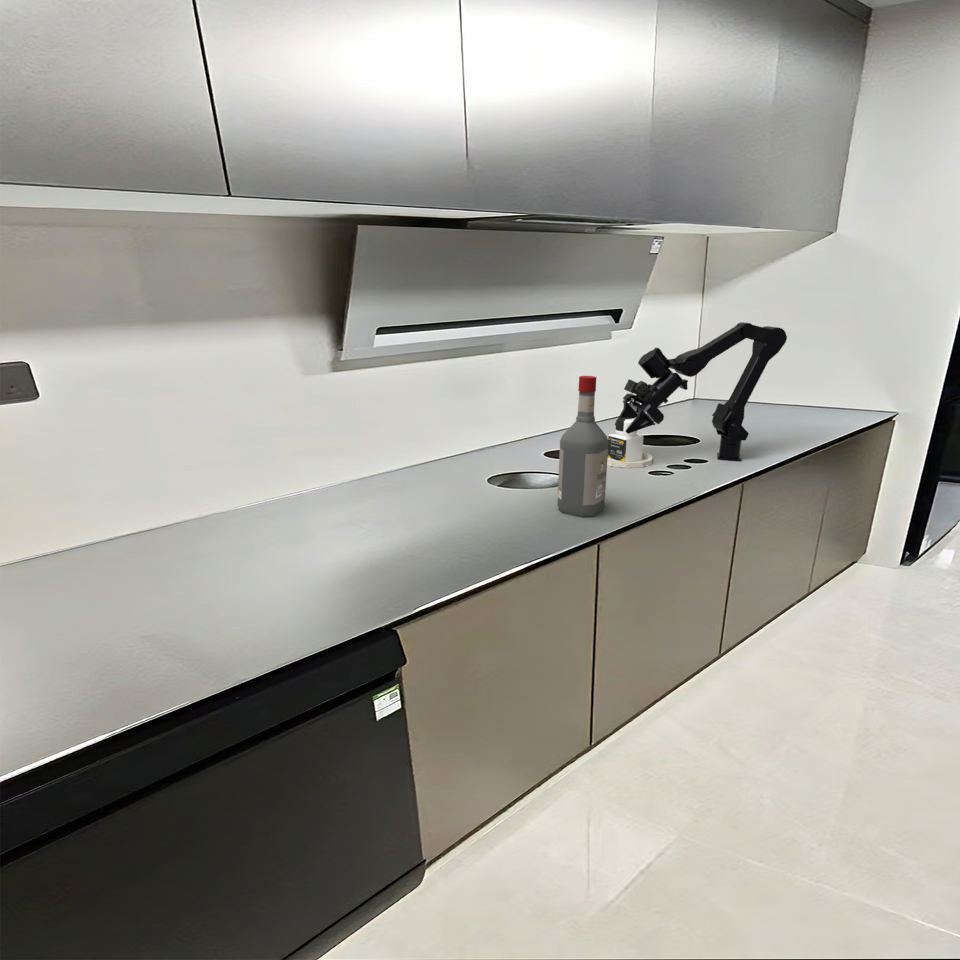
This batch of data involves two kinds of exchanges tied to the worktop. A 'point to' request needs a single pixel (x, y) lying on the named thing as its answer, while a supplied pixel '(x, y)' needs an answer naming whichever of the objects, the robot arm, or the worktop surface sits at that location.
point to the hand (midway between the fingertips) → (621, 429)
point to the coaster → (644, 461)
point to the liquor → (583, 459)
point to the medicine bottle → (625, 443)
